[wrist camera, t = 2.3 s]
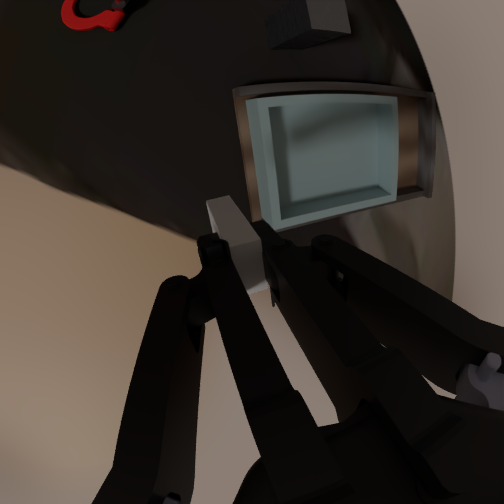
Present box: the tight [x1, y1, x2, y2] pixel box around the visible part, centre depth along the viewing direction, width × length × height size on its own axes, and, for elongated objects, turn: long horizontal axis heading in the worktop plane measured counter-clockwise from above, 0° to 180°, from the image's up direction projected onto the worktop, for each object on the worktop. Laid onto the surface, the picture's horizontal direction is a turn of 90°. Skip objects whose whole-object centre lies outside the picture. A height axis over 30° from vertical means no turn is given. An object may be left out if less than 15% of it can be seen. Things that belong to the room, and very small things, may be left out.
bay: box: [232, 82, 436, 232], centre depth 31 cm, size 17×29×4 cm, turn 99°
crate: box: [245, 94, 399, 230], centre depth 29 cm, size 14×18×4 cm
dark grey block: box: [265, 0, 351, 50], centre depth 19 cm, size 4×4×10 cm
